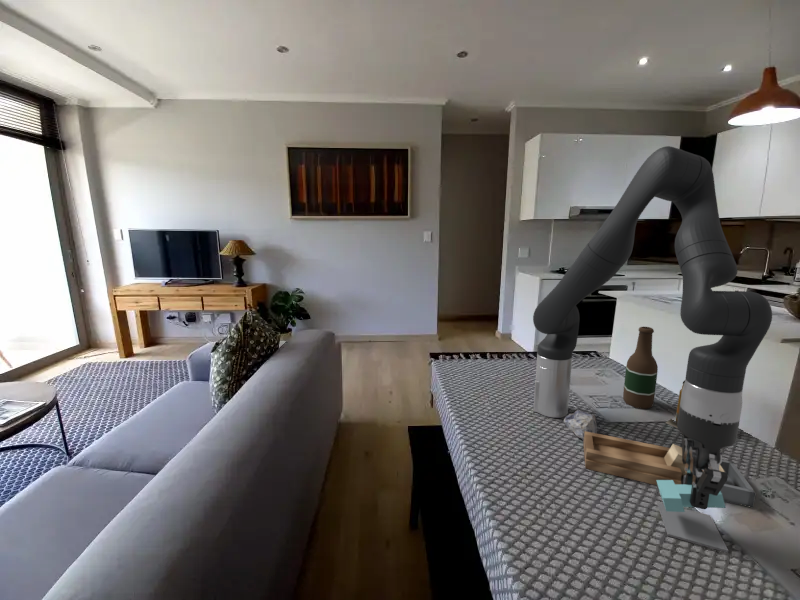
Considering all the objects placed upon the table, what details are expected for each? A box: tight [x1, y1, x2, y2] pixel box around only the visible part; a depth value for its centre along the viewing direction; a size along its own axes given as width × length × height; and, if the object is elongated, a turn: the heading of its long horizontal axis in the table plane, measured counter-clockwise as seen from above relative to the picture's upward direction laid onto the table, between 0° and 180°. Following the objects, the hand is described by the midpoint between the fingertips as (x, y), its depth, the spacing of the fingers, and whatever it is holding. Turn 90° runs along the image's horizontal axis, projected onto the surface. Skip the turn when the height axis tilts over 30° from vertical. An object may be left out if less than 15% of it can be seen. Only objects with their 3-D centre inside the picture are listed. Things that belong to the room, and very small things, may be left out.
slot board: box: [582, 431, 682, 486], centre depth 78 cm, size 17×10×4 cm, turn 65°
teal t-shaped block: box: [656, 480, 726, 512], centre depth 61 cm, size 2×5×8 cm
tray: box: [681, 459, 756, 508], centre depth 72 cm, size 11×10×3 cm
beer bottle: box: [622, 326, 659, 410], centre depth 104 cm, size 8×8×24 cm
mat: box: [656, 501, 729, 554], centre depth 62 cm, size 8×8×1 cm
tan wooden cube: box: [664, 443, 688, 475], centre depth 74 cm, size 4×4×4 cm
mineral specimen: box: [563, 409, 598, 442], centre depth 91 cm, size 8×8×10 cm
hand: (695, 500), depth 61 cm, fingers closed on teal t-shaped block, 2 cm apart
